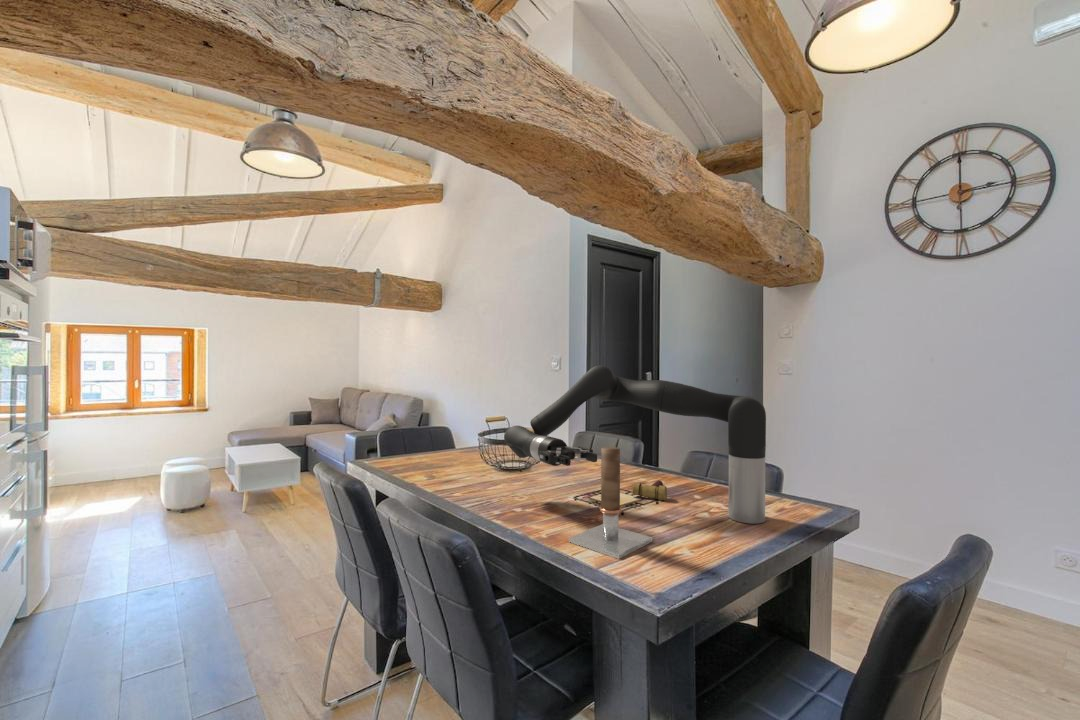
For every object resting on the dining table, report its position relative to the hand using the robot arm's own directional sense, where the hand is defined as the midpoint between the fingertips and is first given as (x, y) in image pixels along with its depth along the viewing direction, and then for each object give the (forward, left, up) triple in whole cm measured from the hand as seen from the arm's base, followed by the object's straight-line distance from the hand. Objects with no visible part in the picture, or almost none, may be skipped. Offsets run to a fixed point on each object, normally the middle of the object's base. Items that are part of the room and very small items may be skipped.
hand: (583, 459), depth 123 cm
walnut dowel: (+3, +11, -9) cm, 14 cm away
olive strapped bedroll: (-44, -4, -18) cm, 48 cm away
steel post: (+3, +11, -17) cm, 21 cm away
